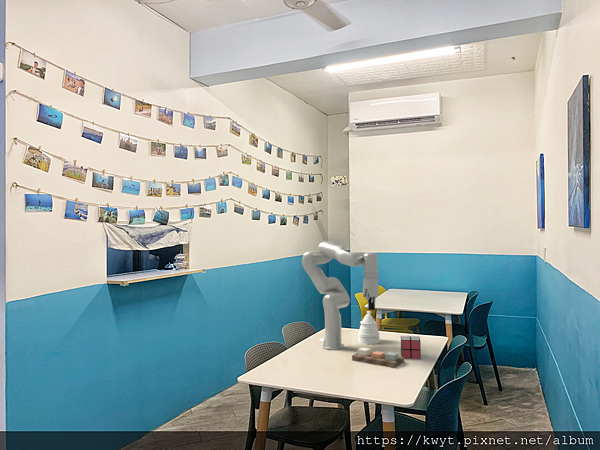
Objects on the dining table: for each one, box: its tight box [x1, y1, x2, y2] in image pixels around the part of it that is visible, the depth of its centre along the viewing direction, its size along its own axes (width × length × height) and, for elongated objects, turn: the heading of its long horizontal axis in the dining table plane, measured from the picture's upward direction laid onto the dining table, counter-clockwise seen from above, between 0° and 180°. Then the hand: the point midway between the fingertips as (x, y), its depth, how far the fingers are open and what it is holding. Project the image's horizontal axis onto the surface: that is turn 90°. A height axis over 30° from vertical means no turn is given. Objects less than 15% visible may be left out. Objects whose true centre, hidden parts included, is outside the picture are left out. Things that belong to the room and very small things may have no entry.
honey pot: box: [357, 310, 380, 345], centre depth 280 cm, size 13×13×18 cm
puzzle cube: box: [400, 335, 422, 360], centre depth 245 cm, size 10×10×10 cm
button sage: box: [384, 351, 400, 361], centre depth 232 cm, size 5×5×3 cm
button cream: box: [357, 347, 372, 356], centre depth 242 cm, size 5×5×3 cm
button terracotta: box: [371, 350, 385, 359], centre depth 237 cm, size 5×5×3 cm
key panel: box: [351, 351, 405, 369], centre depth 237 cm, size 24×12×2 cm, turn 52°
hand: (371, 309), depth 247 cm, fingers closed
